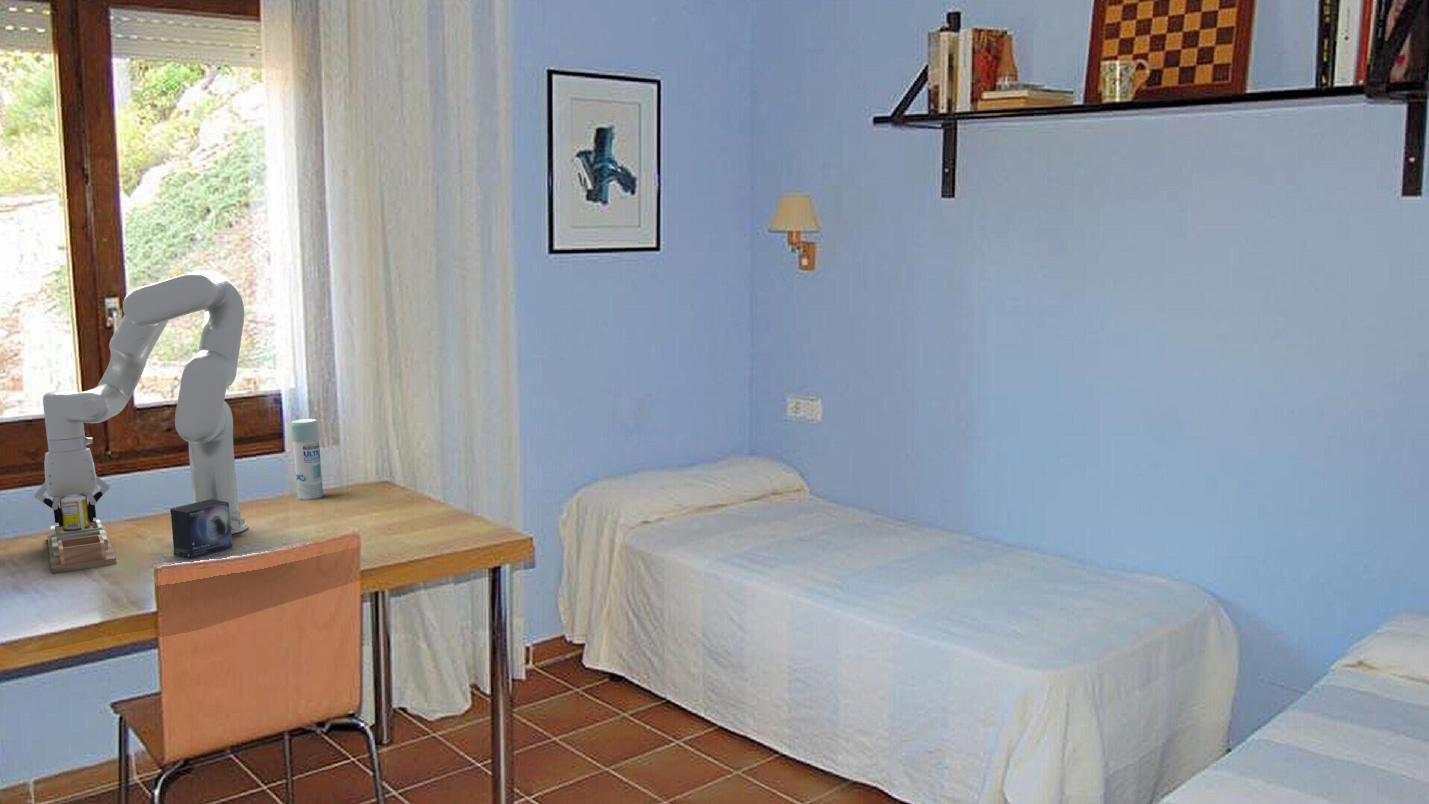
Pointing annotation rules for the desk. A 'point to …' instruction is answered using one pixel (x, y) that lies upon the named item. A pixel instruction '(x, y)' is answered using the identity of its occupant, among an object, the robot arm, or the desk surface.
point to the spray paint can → (307, 458)
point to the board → (80, 548)
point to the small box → (201, 528)
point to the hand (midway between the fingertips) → (76, 522)
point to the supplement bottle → (74, 512)
